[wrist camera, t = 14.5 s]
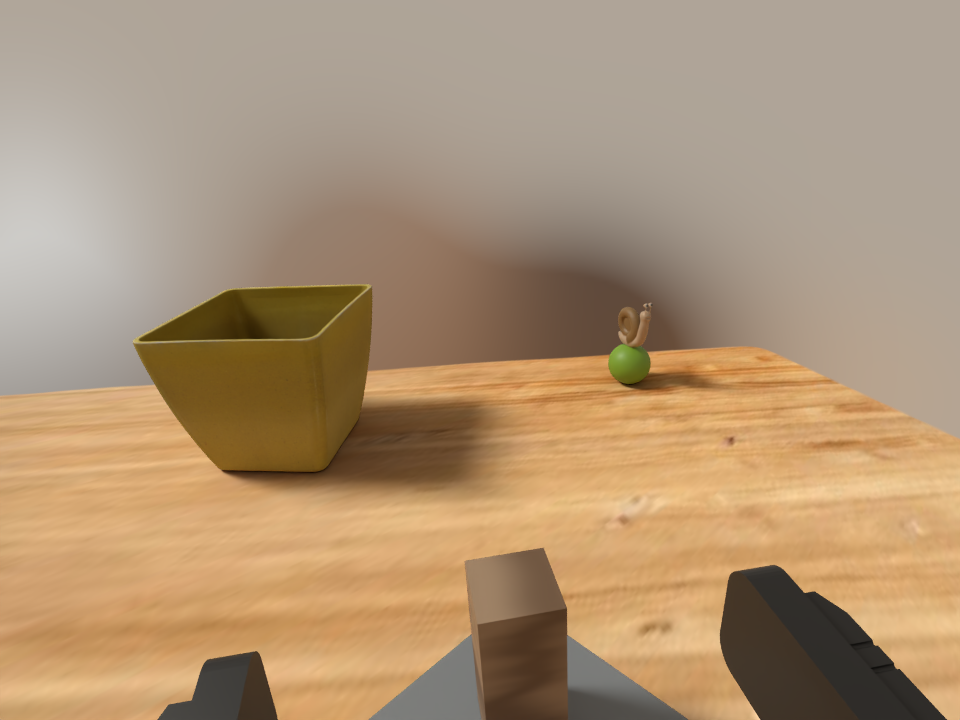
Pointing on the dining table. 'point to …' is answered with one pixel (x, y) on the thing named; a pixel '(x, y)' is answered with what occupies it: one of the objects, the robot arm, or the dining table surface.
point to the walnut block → (518, 637)
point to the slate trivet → (591, 691)
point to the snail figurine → (631, 347)
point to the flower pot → (266, 373)
